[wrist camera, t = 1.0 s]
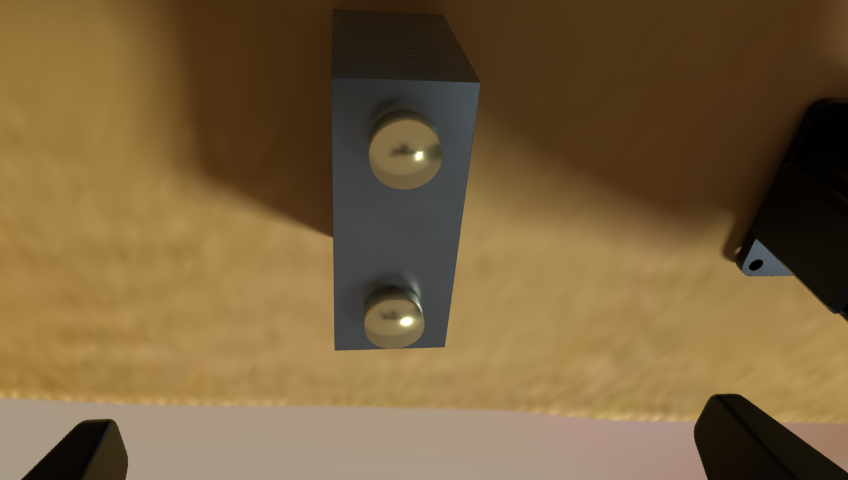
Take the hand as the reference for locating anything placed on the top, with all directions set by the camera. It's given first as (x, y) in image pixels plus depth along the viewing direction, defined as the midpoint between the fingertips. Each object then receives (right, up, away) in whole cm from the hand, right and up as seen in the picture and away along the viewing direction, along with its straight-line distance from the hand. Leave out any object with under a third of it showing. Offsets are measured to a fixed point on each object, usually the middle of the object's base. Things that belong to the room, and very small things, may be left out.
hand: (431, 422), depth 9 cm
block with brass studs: (-1, +6, +8) cm, 10 cm away
